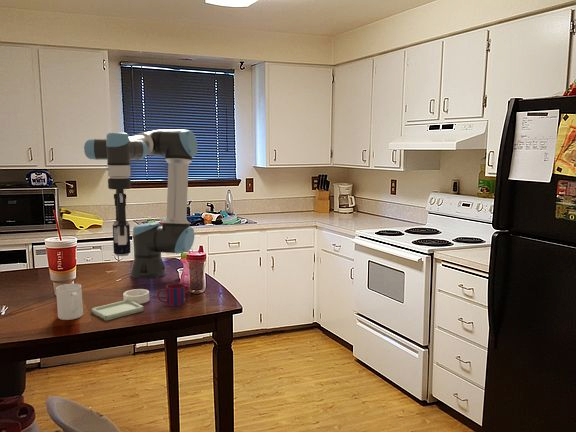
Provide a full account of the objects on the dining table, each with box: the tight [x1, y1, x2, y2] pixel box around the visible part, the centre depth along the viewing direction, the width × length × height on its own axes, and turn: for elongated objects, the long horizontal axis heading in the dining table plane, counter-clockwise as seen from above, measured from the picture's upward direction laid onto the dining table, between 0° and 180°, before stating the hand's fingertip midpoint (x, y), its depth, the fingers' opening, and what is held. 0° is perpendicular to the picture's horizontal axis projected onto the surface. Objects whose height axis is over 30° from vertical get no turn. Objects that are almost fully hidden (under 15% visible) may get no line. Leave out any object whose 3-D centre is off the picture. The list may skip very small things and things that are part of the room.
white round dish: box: [122, 288, 150, 305], centre depth 192 cm, size 9×9×3 cm
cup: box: [157, 282, 186, 307], centre depth 187 cm, size 7×10×7 cm
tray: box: [91, 300, 145, 321], centre depth 179 cm, size 14×11×2 cm
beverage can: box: [112, 220, 131, 257], centre depth 180 cm, size 6×6×12 cm
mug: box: [55, 283, 84, 321], centre depth 173 cm, size 12×8×10 cm, turn 39°
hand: (121, 242), depth 180 cm, fingers closed on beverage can, 6 cm apart
